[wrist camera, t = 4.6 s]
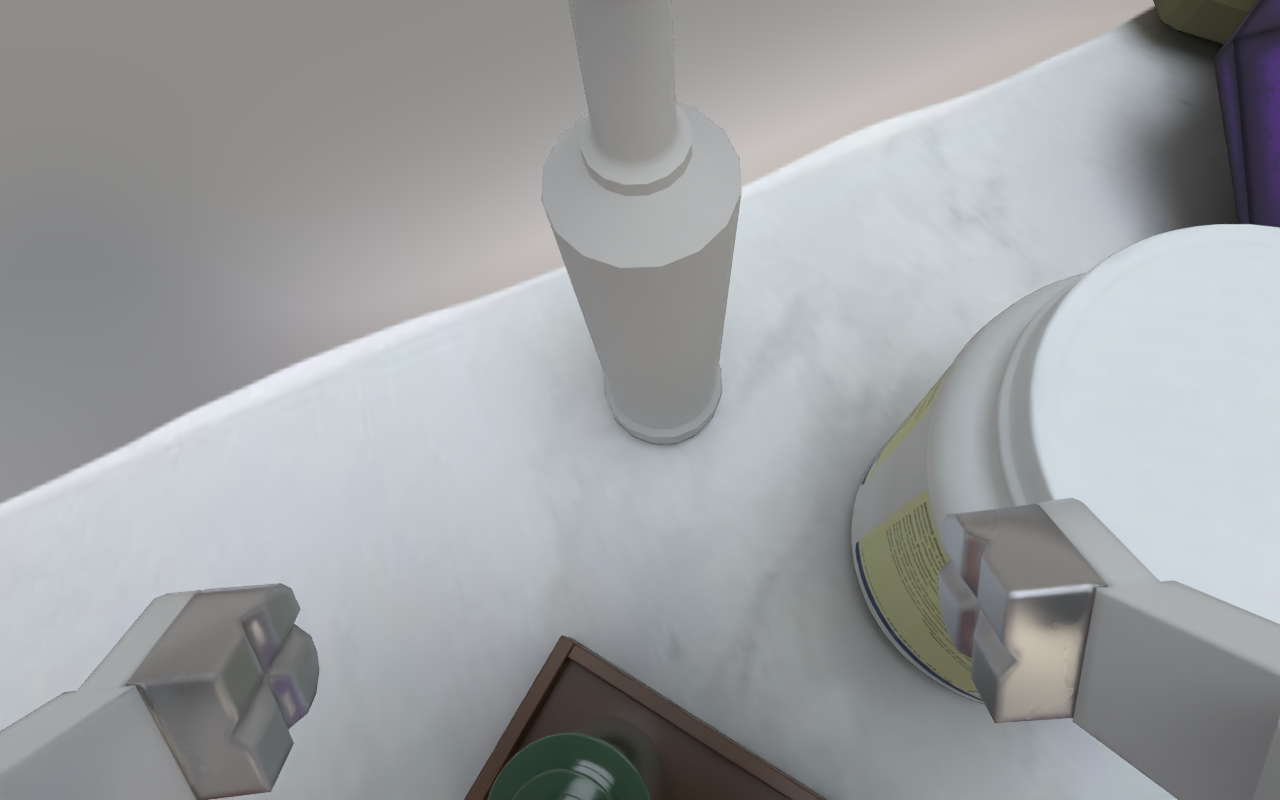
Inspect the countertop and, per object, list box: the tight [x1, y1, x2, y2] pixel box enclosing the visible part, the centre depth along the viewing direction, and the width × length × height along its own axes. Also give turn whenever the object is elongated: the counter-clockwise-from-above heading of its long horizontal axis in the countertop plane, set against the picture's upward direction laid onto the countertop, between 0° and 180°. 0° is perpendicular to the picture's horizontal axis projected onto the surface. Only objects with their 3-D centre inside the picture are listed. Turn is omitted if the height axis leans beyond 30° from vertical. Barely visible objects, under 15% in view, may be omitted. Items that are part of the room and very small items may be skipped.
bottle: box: [542, 0, 741, 444], centre depth 24 cm, size 5×5×25 cm
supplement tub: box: [851, 224, 1280, 704], centre depth 24 cm, size 12×12×17 cm
